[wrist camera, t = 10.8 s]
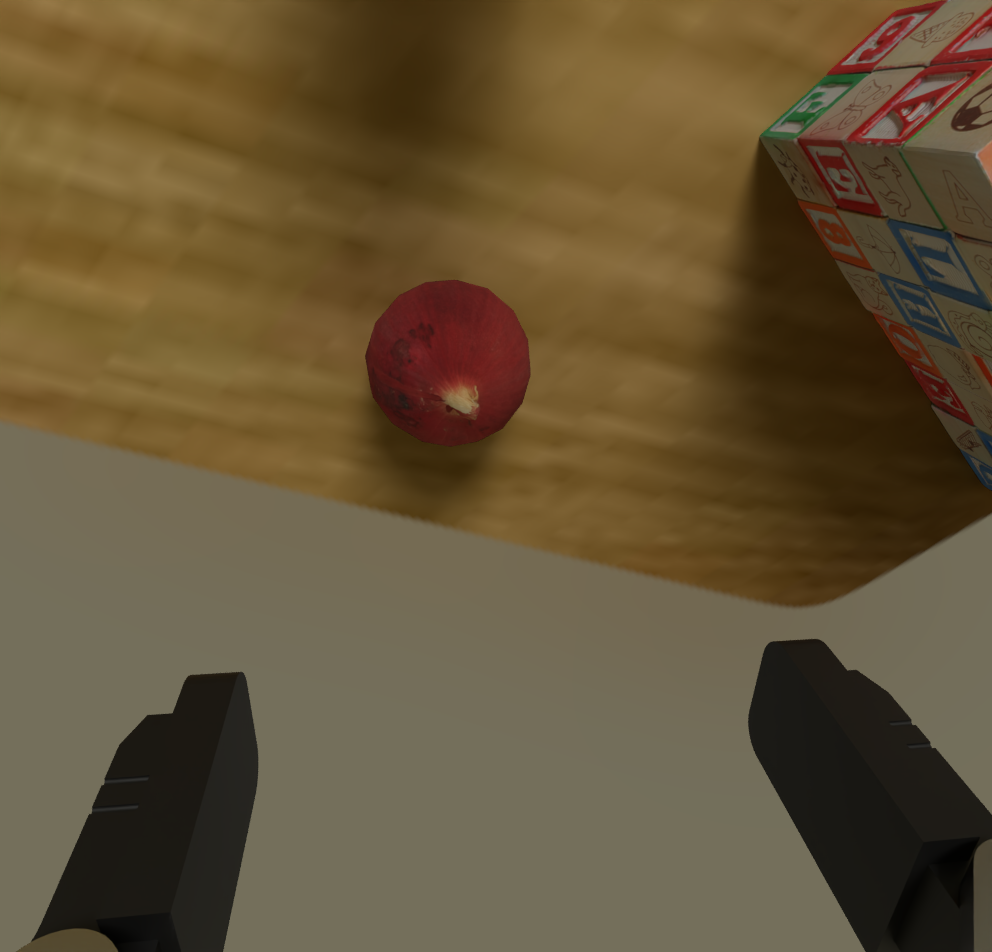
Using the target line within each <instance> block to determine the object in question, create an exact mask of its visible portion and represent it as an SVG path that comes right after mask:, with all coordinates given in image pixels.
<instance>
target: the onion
mask: <svg viewBox="0 0 992 952" xmlns="http://www.w3.org/2000/svg"><path fill="white" fill-rule="evenodd" d="M365 358H366V364H367V369H368V375H369V381H370V387H371V391H372V395H373V398H374V399H375V401H376V402H377V403H378V405H379V406H380V407H381V409H382V410H383V411H384V413H385V414H386V415H387V417H388V418H389V419H390V421H391V422H392V423H393V424H394V425H396V426H397V427H399V428H401V429H402V430H404V431H406V432H407V433H409V434H411V435H412V436H414V437H416V438H417V439H419V440H421V441H422V442H428V443H433V444H439V445H444V446H456V445H461V444H467V443H472V442H477V441H479V440H481V439H483V438H485V437H487V436H489V435H491V434H493V433H495V432H497V431H499V430H501V429H503V427H504V426H505V425H506V423H507V422H508V421H509V420H510V418H511V417H512V416H513V414H514V413H515V412H516V411H517V409H518V408H519V407H520V405H521V404H522V402H523V399H524V395H525V392H526V389H527V385H528V382H529V378H530V359H529V347H528V339H527V337H526V335H525V333H524V331H523V329H522V327H521V325H520V323H519V321H518V319H517V317H516V315H515V313H514V311H513V310H512V309H511V308H510V307H509V306H507V305H506V304H505V303H504V302H503V301H502V300H501V299H499V298H498V297H497V296H496V295H495V294H494V293H492V292H491V291H490V290H489V289H488V288H484V287H480V286H476V285H473V284H469V283H465V282H462V281H458V280H447V281H435V282H425V283H423V284H421V285H419V286H417V287H415V288H413V289H411V290H409V291H407V292H405V293H403V294H401V295H399V296H398V297H397V298H396V300H395V301H394V302H393V303H392V304H391V305H390V307H389V308H388V309H387V310H386V311H385V312H384V313H383V315H382V316H381V317H380V318H379V319H378V320H377V322H376V323H375V326H374V329H373V332H372V335H371V339H370V342H369V345H368V348H367V351H366V355H365Z"/></svg>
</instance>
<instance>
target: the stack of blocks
mask: <svg viewBox="0 0 992 952" xmlns="http://www.w3.org/2000/svg"><path fill="white" fill-rule="evenodd" d="M760 140H761V142H762V143H763V145H764V146H765V148H766V150H767V151H768V153H769V154H770V156H771V157H772V159H773V161H774V162H775V164H776V165H777V167H778V168H779V170H780V172H781V173H782V175H783V176H784V178H785V180H786V181H787V183H788V184H789V186H790V187H791V189H792V191H793V192H794V194H795V195H796V197H797V200H798V204H799V206H800V207H801V209H802V210H803V212H804V213H805V215H806V217H807V218H808V220H809V221H810V223H811V224H812V226H813V228H814V229H815V231H816V232H817V234H818V235H819V237H820V238H821V240H822V241H823V243H824V245H825V246H826V248H827V249H828V251H829V252H830V254H831V255H832V257H833V258H834V259H835V262H836V263H837V265H838V266H839V268H840V270H841V272H842V273H843V275H844V277H845V278H846V280H847V281H848V283H849V284H850V286H851V287H852V289H853V290H854V292H855V293H856V295H857V296H858V298H859V299H860V301H861V302H862V304H863V306H864V307H865V308H866V309H867V310H868V311H870V312H872V313H873V315H874V318H875V319H876V321H877V322H878V323H879V325H880V326H881V327H882V329H883V330H884V332H885V334H886V336H887V337H888V339H889V340H890V342H891V343H892V345H893V346H894V348H895V349H896V351H897V353H898V354H899V356H901V357H902V358H904V361H905V362H906V364H907V365H908V367H909V369H910V370H911V372H912V374H913V375H914V377H915V378H916V380H917V381H918V383H919V384H920V385H921V387H922V389H923V390H924V392H925V393H926V395H927V396H928V398H929V399H930V400H931V401H932V405H931V406H932V409H933V410H934V412H935V413H936V415H937V416H938V418H939V419H940V421H941V423H942V424H943V426H944V427H945V429H946V431H947V432H948V434H949V435H950V437H951V438H952V440H953V442H954V443H955V444H956V445H957V447H958V448H960V451H961V452H962V454H963V456H964V457H965V459H966V460H967V462H968V463H969V465H970V466H971V468H972V469H973V471H974V472H975V474H976V475H977V477H978V478H979V480H980V481H981V483H982V484H983V485H984V486H985V487H987V488H988V489H990V490H991V491H992V0H951V1H950V0H946V1H937V2H933V3H927V4H925V5H920V6H915V7H910V8H904V9H900V10H897V11H895V12H894V13H892V14H891V15H890V16H889V17H888V18H887V19H886V20H885V21H884V22H882V23H881V24H880V25H879V26H878V27H877V28H876V29H875V30H874V31H873V32H872V33H870V34H869V35H868V36H867V37H866V38H865V39H864V40H863V41H862V42H861V43H859V44H858V45H857V46H856V47H855V48H854V49H853V50H852V51H851V52H850V53H849V54H848V55H846V56H845V57H844V58H843V59H842V60H841V61H840V62H839V63H838V64H837V65H836V66H835V67H833V68H832V69H831V70H830V71H829V72H828V74H827V75H826V76H825V77H824V78H823V79H822V80H821V81H820V82H819V83H818V84H817V85H816V86H814V87H813V88H812V89H811V90H810V91H809V92H808V93H807V94H806V95H804V96H803V97H802V98H801V99H800V100H799V101H798V102H797V103H796V104H794V105H793V106H792V107H791V108H790V109H789V110H788V111H787V112H786V113H784V114H783V115H782V116H781V117H780V118H779V119H778V120H777V121H776V122H775V123H774V124H773V125H771V126H770V127H769V128H768V129H767V130H766V131H764V132H763V133H762V134H761V135H760Z"/></svg>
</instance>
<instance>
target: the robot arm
mask: <svg viewBox="0 0 992 952" xmlns="http://www.w3.org/2000/svg"><path fill="white" fill-rule="evenodd" d="M748 719H749V720H748V726H749V734H750V739H751V743H752V746H753V749H754V751H755V754H756V756H757V758H758V759H759V761H760V763H761V765H762V766H763V768H764V770H765V772H766V774H767V775H768V777H769V779H770V781H771V783H772V785H773V786H774V788H775V790H776V792H777V793H778V795H779V797H780V799H781V801H782V802H783V804H784V806H785V808H786V809H787V811H788V813H789V815H790V817H791V819H792V820H793V822H794V824H795V826H796V828H797V829H798V831H799V833H800V835H801V836H802V838H803V840H804V842H805V844H806V846H807V847H808V849H809V851H810V853H811V854H812V856H813V858H814V859H815V861H816V864H817V865H818V867H819V869H820V871H821V873H822V874H823V876H824V878H825V880H826V881H827V883H828V885H829V887H830V889H831V890H832V892H833V894H834V896H835V897H836V899H837V901H838V903H839V905H840V906H841V908H842V910H843V912H844V914H845V916H846V917H847V919H848V921H849V923H850V925H851V926H852V928H853V930H854V932H855V934H856V935H857V937H858V939H859V941H860V942H861V944H862V946H863V948H864V950H865V951H866V952H992V815H991V814H990V812H989V811H988V810H987V809H986V808H985V806H984V805H983V804H982V803H981V802H980V800H979V799H978V798H977V797H976V796H975V794H974V793H973V792H972V791H971V790H970V789H969V787H968V786H967V785H966V784H965V783H964V781H963V780H962V779H961V778H960V777H959V776H958V774H957V773H956V772H955V771H954V770H953V768H952V767H951V766H950V765H949V764H948V762H947V761H946V760H945V759H944V758H943V757H942V755H941V754H940V753H939V752H938V751H937V749H936V748H932V747H931V745H930V741H929V740H928V739H927V738H926V736H925V735H924V734H923V733H922V732H921V731H920V729H919V728H918V727H917V726H916V725H912V723H911V719H910V717H909V716H908V715H907V714H906V713H905V712H904V710H903V709H902V708H901V707H900V706H899V704H898V703H897V702H896V701H895V700H894V699H893V697H892V696H891V695H890V694H889V693H888V692H887V691H886V690H884V689H883V688H881V687H880V686H879V685H877V684H876V683H874V682H873V681H871V680H870V679H868V678H867V677H866V676H864V675H863V674H861V673H860V672H859V671H857V670H849V671H847V670H846V669H845V667H844V666H843V665H842V663H841V662H840V661H839V660H838V659H837V657H836V656H835V655H834V654H833V652H832V651H831V650H830V649H829V647H828V646H827V645H826V644H825V643H824V642H822V641H821V640H818V639H808V640H807V639H806V640H790V641H773V642H770V643H769V644H768V645H767V646H766V648H765V650H764V653H763V657H762V661H761V665H760V669H759V673H758V678H757V682H756V686H755V690H754V694H753V698H752V702H751V707H750V711H749V718H748ZM257 779H258V748H257V742H256V736H255V729H254V724H253V718H252V711H251V705H250V699H249V693H248V687H247V681H246V677H245V675H244V673H243V672H233V673H216V674H200V675H190V676H188V677H187V678H186V680H185V682H184V684H183V687H182V690H181V693H180V695H179V698H178V700H177V703H176V706H175V709H174V711H173V713H172V714H158V715H147V716H146V717H145V718H144V720H143V721H141V723H140V724H139V725H138V726H137V727H136V728H135V729H134V730H133V731H132V732H131V733H130V734H129V735H128V736H127V737H126V738H125V739H124V741H123V742H122V743H121V744H120V745H119V747H118V749H117V751H116V754H115V756H114V758H113V761H112V763H111V765H110V768H109V770H108V772H107V774H106V777H105V783H104V785H102V786H101V788H100V791H99V793H98V795H97V797H96V800H95V802H94V804H93V806H92V814H89V815H88V818H87V820H86V822H85V825H84V827H83V829H82V831H81V834H80V836H79V839H78V841H77V843H76V845H75V847H74V850H73V852H72V854H71V857H70V859H69V861H68V863H67V866H66V868H65V870H64V873H63V875H62V877H61V879H60V882H59V884H58V886H57V889H56V891H55V893H54V895H53V898H52V900H51V902H50V905H49V907H48V909H47V911H46V914H45V916H44V918H43V921H42V923H41V925H40V927H39V929H38V931H37V933H36V935H35V936H34V938H33V939H32V941H31V943H29V944H27V945H25V946H24V947H22V948H21V949H19V950H18V951H16V952H223V949H224V944H225V939H226V935H227V929H228V925H229V920H230V915H231V910H232V906H233V901H234V896H235V891H236V886H237V881H238V877H239V871H240V867H241V862H242V857H243V852H244V847H245V843H246V837H247V833H248V828H249V823H250V818H251V814H252V809H253V804H254V799H255V794H256V787H257Z"/></svg>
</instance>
